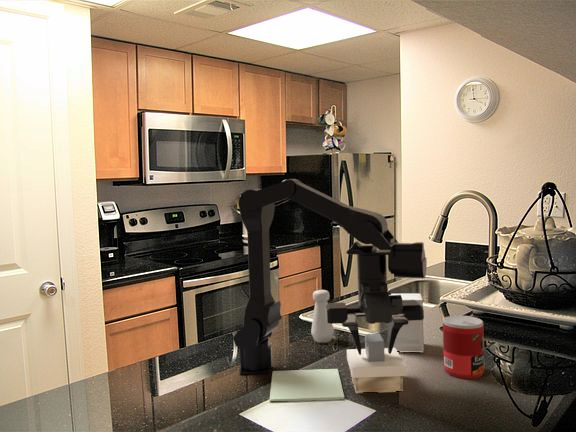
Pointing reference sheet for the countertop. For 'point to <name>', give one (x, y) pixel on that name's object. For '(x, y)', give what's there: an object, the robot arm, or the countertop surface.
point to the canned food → (463, 346)
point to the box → (378, 384)
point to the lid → (375, 360)
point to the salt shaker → (321, 318)
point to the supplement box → (411, 330)
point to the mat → (306, 385)
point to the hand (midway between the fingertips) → (374, 353)
